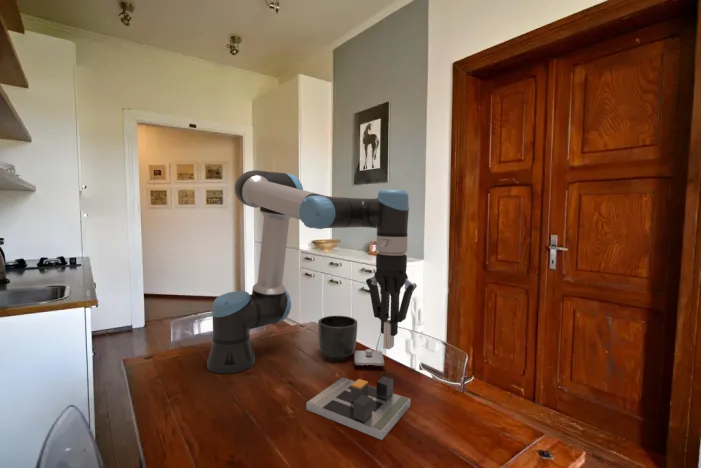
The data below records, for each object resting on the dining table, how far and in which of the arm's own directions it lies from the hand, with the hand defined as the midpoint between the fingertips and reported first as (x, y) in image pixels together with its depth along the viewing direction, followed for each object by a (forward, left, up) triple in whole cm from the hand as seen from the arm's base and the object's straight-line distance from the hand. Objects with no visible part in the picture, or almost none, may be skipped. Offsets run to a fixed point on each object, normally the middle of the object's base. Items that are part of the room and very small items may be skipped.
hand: (388, 347), depth 89 cm
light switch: (-19, +25, -19) cm, 36 cm away
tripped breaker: (-8, 0, -16) cm, 18 cm away
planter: (-31, +24, -19) cm, 44 cm away
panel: (-8, 0, -18) cm, 20 cm away
